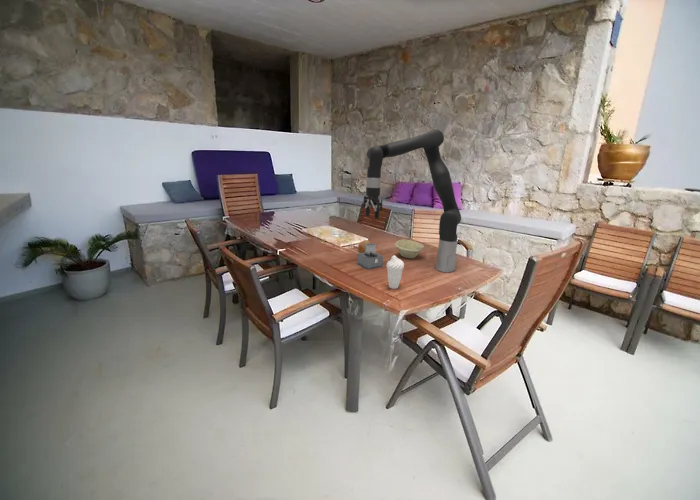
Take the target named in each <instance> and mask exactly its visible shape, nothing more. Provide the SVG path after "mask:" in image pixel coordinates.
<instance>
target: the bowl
mask: <svg viewBox="0 0 700 500" xmlns="http://www.w3.org/2000/svg"><path fill="white" fill-rule="evenodd" d="M394 246H395V248H396V249H397V251H398V252H399V255H400V256H402V258H406V259H415V258H416V257H417V256H418V255H419V254H420V252H421V251H423V250H424V249H425V246H424V245H423V244H422V243H420V242H418V241H415V240H411V239H399V240H397V241H396V242H395V243H394Z"/></svg>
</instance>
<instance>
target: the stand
mask: <svg viewBox="0 0 700 500" xmlns="http://www.w3.org/2000/svg"><path fill="white" fill-rule="evenodd" d="M383 261H384V255H382V254H380V253H378V252H376V254H374V255H373V256H371V257H369V256H367V255H365V252H364V253H359V252H358V253H357V262H355V265H357V266H358V267H359V266H360V267H361V268H363V269H364V270H366V271H369V270H374V269H378V268H385V265H384V263H383Z"/></svg>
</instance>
